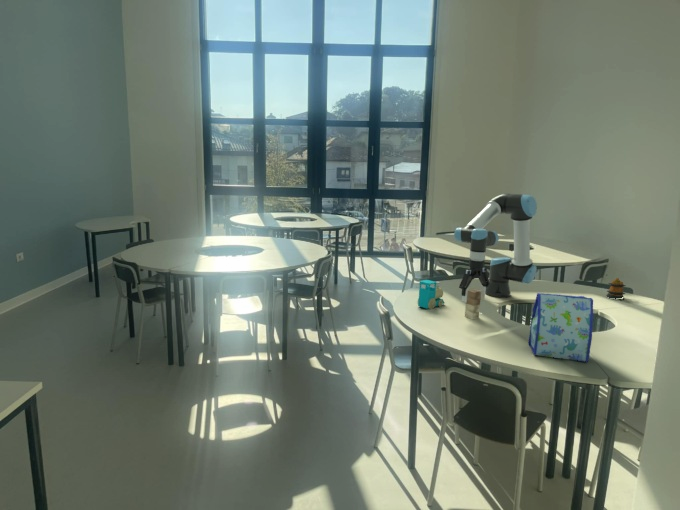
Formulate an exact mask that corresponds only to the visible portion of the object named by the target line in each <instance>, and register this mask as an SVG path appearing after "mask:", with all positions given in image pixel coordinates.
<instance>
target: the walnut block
mask: <svg viewBox="0 0 680 510" xmlns="http://www.w3.org/2000/svg"><path fill="white" fill-rule="evenodd" d="M467 290H468V293H467V302H466V303H465V305H466V304H469V305H472V306H475V305H480V306H481V299H482V298H481V291H480V290H478V289H475V288H472V289H467Z"/></svg>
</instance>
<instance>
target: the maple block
mask: <svg viewBox="0 0 680 510" xmlns="http://www.w3.org/2000/svg"><path fill="white" fill-rule="evenodd" d="M480 308H481V304H480V305H475V306H472V305H469V304H466V303H465V308H464V316H465V318H467V317H468V319H470V318H471V319H470V320H475V318H476V319H479V318H480V314H479V312H480Z"/></svg>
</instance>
